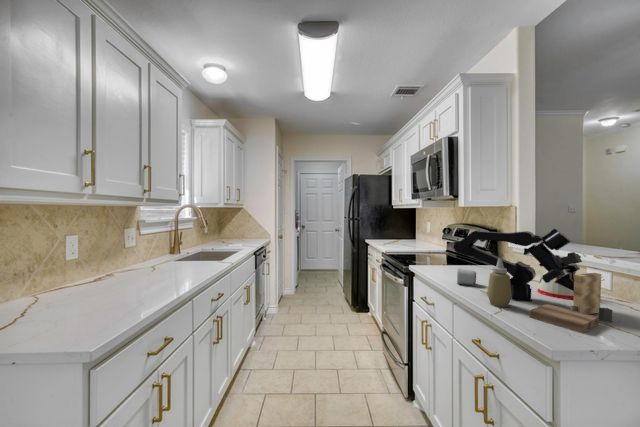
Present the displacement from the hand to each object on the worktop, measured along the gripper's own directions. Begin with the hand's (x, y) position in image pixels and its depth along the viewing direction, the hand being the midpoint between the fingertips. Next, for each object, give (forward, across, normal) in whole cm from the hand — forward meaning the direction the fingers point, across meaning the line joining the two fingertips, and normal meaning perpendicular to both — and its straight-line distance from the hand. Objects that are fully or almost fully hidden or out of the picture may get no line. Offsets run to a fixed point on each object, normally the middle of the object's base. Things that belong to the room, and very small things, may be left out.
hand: (581, 293), depth 101 cm
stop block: (+10, -2, 0) cm, 10 cm away
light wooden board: (+6, -1, +4) cm, 7 cm away
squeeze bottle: (-8, -17, +19) cm, 27 cm away
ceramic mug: (-26, +1, +37) cm, 45 cm away
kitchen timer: (-4, +20, +15) cm, 25 cm away
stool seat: (+5, -15, +5) cm, 16 cm away
